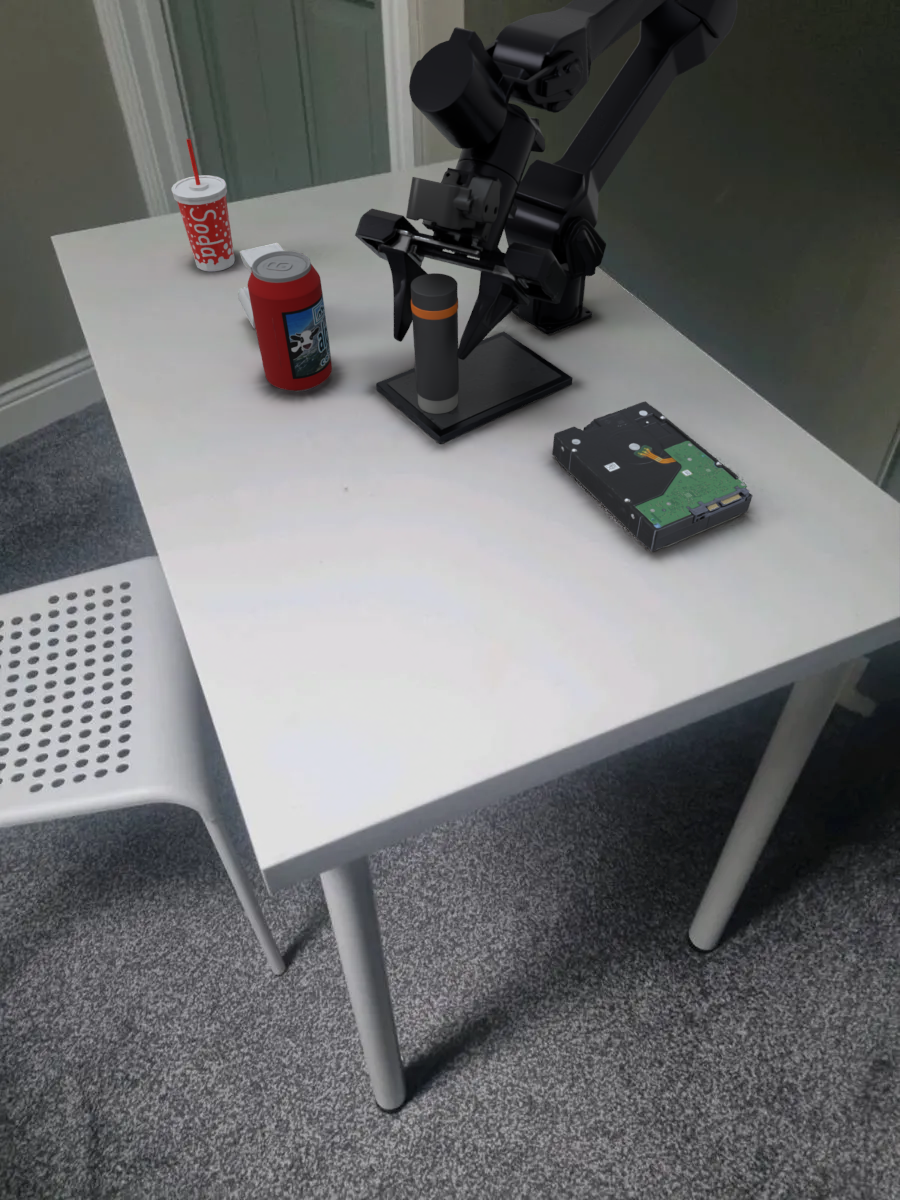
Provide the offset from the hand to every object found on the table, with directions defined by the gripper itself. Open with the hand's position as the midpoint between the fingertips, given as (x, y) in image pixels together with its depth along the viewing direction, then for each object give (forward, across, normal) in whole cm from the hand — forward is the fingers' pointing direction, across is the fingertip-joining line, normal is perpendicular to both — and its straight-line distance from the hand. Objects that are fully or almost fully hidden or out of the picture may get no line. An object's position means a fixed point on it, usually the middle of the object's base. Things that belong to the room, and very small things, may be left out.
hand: (428, 349), depth 80 cm
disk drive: (+5, +22, +6) cm, 23 cm away
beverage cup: (-5, -39, +16) cm, 42 cm away
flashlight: (+4, 0, +6) cm, 7 cm away
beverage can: (+6, -15, +5) cm, 17 cm away
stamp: (+1, -23, +10) cm, 25 cm away
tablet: (+1, +1, +10) cm, 10 cm away
